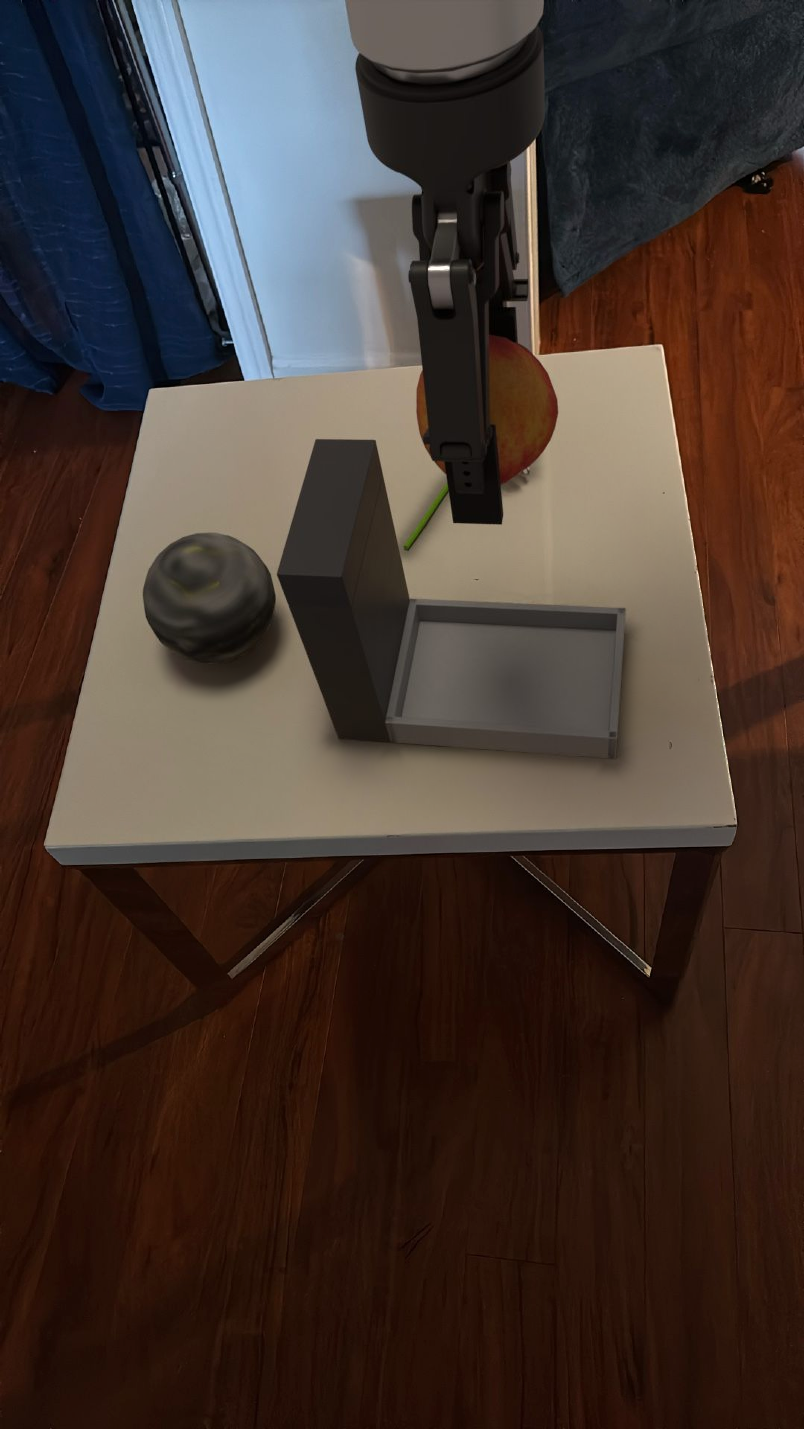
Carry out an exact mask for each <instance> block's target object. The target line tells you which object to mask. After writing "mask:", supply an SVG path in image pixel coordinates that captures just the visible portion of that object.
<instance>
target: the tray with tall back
mask: <svg viewBox="0 0 804 1429" xmlns="http://www.w3.org/2000/svg"><path fill="white" fill-rule="evenodd" d="M276 576H277V579H278V581H279V584H280V587H281V590H282V592H283V595H284V598H285V601H286V603H287V605H288V608H289V611H290V613H291V616H292V619H293V621H294V624H295V627H296V629H297V632H298V636H299V638H300V640H301V643H302V645H303V648H304V651H305V653H306V657H307V659H308V662H309V664H310V667H311V669H312V672H313V675H314V678H315V680H316V683H317V685H318V688H319V691H320V693H321V696H322V698H323V702H324V704H325V706H326V709H327V712H328V714H329V717H330V720H331V722H332V726H333V728H334V730H335V733H336V736H337V738H338V739H341V740H342V739H343V740H355V741H356V740H357V741H369V742H385V743H396V744H411V745H422V746H423V745H424V746H438V747H452V748H465V749H466V748H467V749H477V750H478V749H480V750H491V751H493V750H494V751H506V752H521V753H535V754H544V755H545V754H548V755H559V756H560V755H561V756H573V757H574V756H575V757H585V758H586V757H587V758H588V757H590V758H600V759H601V758H602V759H611V760H613V759H615V760H616V758H617V748H618V735H619V734H618V733H619V718H620V706H621V705H620V703H621V687H622V674H623V659H624V645H625V632H626V631H625V630H626V618H627V617H626V615H627V608H626V607H611V606H589V605H588V606H587V605H569V604H568V605H566V604H545V603H543V604H542V603H539V604H538V603H522V602H521V603H519V602H498V601H497V602H496V601H475V600H474V601H473V600H453V599H452V600H451V599H433V598H430V599H429V598H411V597H410V593H409V590H408V589H409V588H408V583H407V580H406V575H405V571H404V566H403V561H402V556H401V552H400V547H399V543H398V537H397V533H396V529H395V523H394V519H393V515H392V511H391V506H390V501H389V496H388V492H387V487H386V482H385V478H384V473H383V468H382V462H381V458H380V454H379V449H378V444H377V441H376V439H348V438H347V439H344V438H343V439H341V438H334V439H333V438H329V439H328V438H316V439H315V440H314V443H313V447H312V450H311V454H310V457H309V461H308V464H307V467H306V472H305V475H304V478H303V482H302V484H301V488H300V492H299V495H298V499H297V503H296V505H295V509H294V512H293V516H292V520H291V523H290V526H289V530H288V533H287V537H286V540H285V543H284V547H283V551H282V554H281V558H280V561H279V564H278V568H277V572H276Z"/></svg>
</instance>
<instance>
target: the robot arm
mask: <svg viewBox="0 0 804 1429" xmlns="http://www.w3.org/2000/svg"><path fill="white" fill-rule="evenodd" d="M344 3H345V9H346V15H347V22H348V27H349V32H350V39H351V41H352V44H353V47H354V48H355V49H356V51H357V52H358V55H357V56H356V60H355V67H354V68H355V75H356V81H357V87H358V93H359V98H360V104H361V111H362V116H363V122H364V128H365V133H366V140H367V143H368V146H369V149H370V150H371V152H372V154H373V155H374V156H375V158H376V159H377V160H378V161H379V163H381V164H382V165H384V166H385V167H386V168H387V169H388V170H389V169H390V170H391V171H393V172H395V173H398V174H400V175H403V176H404V177H406V178H408V179H410V180H411V181H413V182H414V183H415V184H417V185H418V186H419V187H420V189H421V193H420V194H418V193H417V194H413V195H412V199H411V223H412V224H411V225H412V233H413V235H414V237H415V238H416V239H417V242H418V256H419V260H412V261H411V262H410V265H409V270H408V274H407V277H408V283H409V285H410V290H411V294H412V299H413V303H414V308H415V313H416V319H417V329H418V340H419V349H420V358H421V369H422V370H423V380H424V389H425V399H426V409H427V419H428V428H427V430H426V432H425V433H424V435H423V441H424V444H425V445H429V452H430V454H431V457H430V459H431V461H432V462H434V461H444V464H445V471H446V474H445V477H446V484H448V491H447V492H448V497H449V504H450V511H451V516H452V517H451V518H452V523H453V524H463V525H464V524H467V525H468V524H469V525H503V521H504V520H503V519H504V506H503V504H504V503H503V493H502V484H501V481H500V470H499V458H498V447H497V436H496V425H490V378H489V335H494V336H500V337H505V338H507V339H509V340H510V341H512V342H515V343H519V339H518V324H517V323H518V322H517V321H518V320H517V307H516V306H508V304H507V303H508V302H509V303H510V302H528V300H529V278H515V275H514V271H517V268H518V264H520V253H519V252H518V242H517V231H516V221H515V210H514V209H515V208H514V199H513V188H512V165H511V164H512V163H511V161H513V160H514V159H516V158H517V157H519V156H520V155H521V154H523V153H524V152H526V151H527V150H528V148H530V146H531V145H532V144H533V143H534V142H535V141H536V139H537V137H538V136H539V135H540V132H541V130H542V128H543V125H544V121H545V119H546V118H545V117H546V90H545V88H546V87H545V54H544V53H545V52H544V35H543V32H542V30H541V28H540V26H539V25H538V24H539V22H540V20H541V18H542V17H543V15H544V7H545V6H544V5H545V0H344ZM422 370H421V371H422ZM423 441H422V442H423ZM424 444H423V445H424Z"/></svg>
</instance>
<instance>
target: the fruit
mask: <svg viewBox="0 0 804 1429" xmlns="http://www.w3.org/2000/svg"><path fill="white" fill-rule="evenodd" d="M489 378H490V425H496V436H497V447H498V458H499V470H500V481H501V485H503V484H505V483H507V482H508V481H511V480H512V479H513V478H514V477H516V476H517V475H520V474H521V473H523V470H525V469H526V468H528V467H529V468H530V466H532V464H533V463H535V462H536V461H537V459H538V458H539V457H540V456H541V455H542V454H543V453H544V451H545V450H546V448H547V447H548V446H549V443H550V442H551V441H552V438H553V435H554V432H555V430H556V426H557V421H558V418H559V402H558V397H557V394H556V391H555V388H554V386H553V383H552V381H551V377H550V375H549V373H548V371H547V370H546V368H545V367H544V365H543V364H542V362H541V361H540V360H539V359H538V358H537V357H536V356H535V355H534V354H533V352H531V351H530V349H528V347H526V346H524V345H523V344H521V343H519V342H518V343H515V342H512V341H510V340H509V339H507V338H505V337H500V336H494V335H489ZM415 396H416V399H415V400H416V402H415V404H416V407H415V408H416V410H415V412H416V421H417V426H418V432H419V436H420V438H421V441H422V444H423V446H424V448H425V450H426V453H428V455H429V457H430V458H431V454H430V452H429V445H425V444H424V441H423V435H424V433H425V432H426V430H427V428H428V419H427V409H426V399H425V389H424V380H423V370H421V372H420V373H419V378H418V382H417V386H416V395H415ZM433 463H435V465H436V466H437V468H439V470H441V471H442V473H443V474H445V475H446V471H445V464H444V461H433ZM526 470H527V469H526ZM519 473H520V474H519Z"/></svg>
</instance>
